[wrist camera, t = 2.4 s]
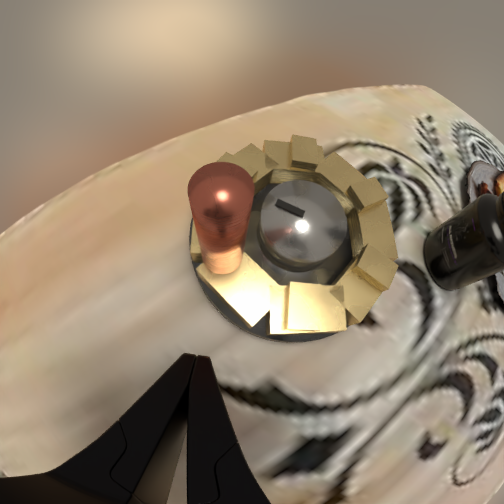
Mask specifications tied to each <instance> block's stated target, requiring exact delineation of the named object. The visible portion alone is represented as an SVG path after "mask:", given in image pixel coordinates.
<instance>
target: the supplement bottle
mask: <svg viewBox="0 0 504 504" xmlns="http://www.w3.org/2000/svg"><path fill="white" fill-rule="evenodd" d="M425 259H426V264H427V267H428V269H429V272H430V274H431V276H432V277H433V279H434V280H435V281H436V282H437V283H438V284H439V285H440V286H441V287H443V288H445V289H447V290H456V289H459V288H462V287H465V286H467V285H470V284H472V283H475V282H477V281H480V280H482V279H485V278H487V277H489V276H492V275H494V274H496V273H499V272H501V271H503V270H504V192H502V193H501V194H500V195H499V197H498V196H496V195H494V194H488V193H487V194H483V195H481V196H479V197H478V198H477V199H475V200H474V201H473V202H471V203H470V204H469V205H467V206H466V207H465V208H463V209H462V210H461V211H459V212H458V213H457V214H455V215H454V216H452V217H451V218H450V219H448V220H447V221H445V222H444V223H443V224H441V225H440V226H438V227H437V228H436V229H434V230H433V231H432V232H431V233H430V234H429V236H428V238H427V240H426V244H425Z"/></svg>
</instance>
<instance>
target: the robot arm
mask: <svg viewBox="0 0 504 504" xmlns="http://www.w3.org/2000/svg"><path fill="white" fill-rule="evenodd" d="M186 431H187V504H271V503H270V501H269V500H268V498H267V497H266V495H265V494H264V492H263V491H262V489H261V488H260V486H259V484H258V483H257V481H256V479H255V478H254V476H253V474H252V472H251V470H250V468H249V466H248V464H247V462H246V460H245V457H244V455H243V453H242V450H241V448H240V445H239V443H238V440H237V437H236V435H235V432H234V429H233V426H232V423H231V421H230V418H229V415H228V412H227V409H226V406H225V403H224V400H223V397H222V394H221V391H220V388H219V385H218V382H217V379H216V375H215V372H214V369H213V366H212V362H211V359H210V357H208V356H201V355H198V356H196V355H194V354H188V353H184V354H182V355H181V356H180V357H179V358H178V359H177V360H176V362H175V363H174V364H173V365H172V366H171V367H170V368H169V369H168V370H167V371H166V372H165V373H164V374H163V375H162V376H161V377H160V378H159V379H158V380H157V381H156V382H155V383H154V384H153V385H152V386H151V387H150V388H149V389H148V390H147V391H146V392H145V393H144V394H143V395H142V396H141V397H140V398H139V399H138V400H137V401H136V402H135V403H134V404H133V405H132V406H131V407H130V408H129V409H128V410H127V411H126V412H125V413H124V414H123V415H122V416H121V417H120V418H119V420H117V421H116V422H115V423H114V424H113V425H112V426H111V427H110V428H109V429H108V430H107V431H106V432H105V433H103V434H102V435H101V436H100V437H99V438H98V439H96V440H95V441H94V442H93V443H91V444H90V445H89V446H87V447H86V448H85V449H83V450H82V451H80V452H79V453H78V454H76V455H75V456H73V457H72V458H70V459H69V460H68V461H66V462H65V463H63V464H62V465H60V466H59V467H57V468H55V469H53V470H51V471H48V472H45V473H41V474H34V475H26V476H17V477H4V478H0V504H166V503H167V499H168V495H169V492H170V488H171V484H172V481H173V477H174V473H175V470H176V466H177V463H178V459H179V456H180V452H181V448H182V445H183V441H184V438H185V434H186Z"/></svg>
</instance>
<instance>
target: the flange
mask: <svg viewBox="0 0 504 504" xmlns="http://www.w3.org/2000/svg"><path fill="white" fill-rule="evenodd" d="M192 227H193V218H192V221H191V227H190V236H189V237H190V250H191V238H192ZM244 252H245V253H246V254H247V255H248V256H249V257H250V258H251V259H252V260H253V261H254V262H256V263H257V264H258V265H259V266H260V267H261V268H262V269H263V270H264V271H265V272H266V273H267V274H268V275H269V276H270V277H271V278H272V279H273V280H274V281H275V282H276V283H277V284H278V285H282V286H287V285H288V283H289V282H301V283H312V284H322V285H331V284H332V283H333V282H334V281H335V279H336V278H337V277H338V276H339V275H340V273H341V272H342V271H343V270H344V269H345V267H346V266H347V265H348V264H349V262H350V261H351V260H352V259H353V255H352V248H351V241H350V234H349V228H348V222H347V216H346V215H345V212H344V209H343V207H342V205H341V204H340V202H339V201H338V199H337V198H336V197H335V196H334V195H333V194H332V193H331V192H330V191H328V190H327V189H326V188H324V187H322V186H321V185H318V184H316V183H313V182H310V181H305V180H291V181H286V182H283V183H281V184H274V183H270V184H268V185H267V186H266V187H265V188H263V189H262V190H261V191H260V192H258V193H257V194H256V195H254V197H253V203H252V208H251V214H250V219H249V225H248V230H247V236H246V242H245V247H244ZM191 258H192V256H191ZM192 263H193V266H194V269H195V272H196V275H197V278H198V280H199V283H200V285H201V287H202V289H203V291H204V292H205V294H206V296H207V297H208V298H209V300H210V301H211V303H212V304H213V305H214V306H215V307H216V309H217V310H218V311H219V312H220V313H221V314H222V315H223V316H224V317H226V318H227V319H228V320H229V321H230V322H232V323H233V324H234V325H236V326H238V327H239V328H241V329H243V330H244V331H246V332H248V333H251V334H253V335H255V336H258V337H260V338H264V339H268V340H271V341H278V342H286V343H294V342H306V341H312V340H318V339H322V338H325V337H328V336H331V335H334V334H336V333H338V332H336V333H324V334H305V335H271V336H266V319H265V315H264V316H263V317H262V318H261V319H260V320H259V321H258V322H257V323H256V324H255V325H254V326H253V327H252V328H251V329H249V328H248V327H247V326H246V325H245V324H244V323H243V322H242V321H241V320H240V319H239V318H238V317H237V316H236V315H235V314H234V313H233V312H232V311H231V310H230V309H229V308H228V307H227V306H226V305H225V304H224V303H223V302H222V301H221V300H220V299H219V298H218V297H217V296H216V295H215V294H214V293H213V292H212V290H211V289H210V288H209V287H208V286H207V285H206V284H205V283H204V282H203V281H202V280H201V279H200V278H199V276H198V273H197V270H196V268H198V267H199V266H200V265H201V264H202V263H194V262H193V259H192ZM349 326H350V325H349ZM347 327H348V325H347V324H346V328H347Z"/></svg>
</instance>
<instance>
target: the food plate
mask: <svg viewBox="0 0 504 504" xmlns="http://www.w3.org/2000/svg"><path fill="white" fill-rule="evenodd" d="M466 179H467V184H469V186H468V188H467V193H468V194H469V196H470V200H469V204H470V203H471V202H473V201H474V200H475V199H477V198H478V197H479V196H481V195H483V194H487V193H488V194H494V195H496V196H498V197H499V195H500V194H501V193H502V192H504V171H499V170H498V169H497V168H496V167H495V166H493V165H490V164H489V163H486V162H483V161H480V160H479V161H474V162H473V163H472V164H471V168H470V170H469V172H468V173H467V178H466ZM467 184H466V185H467ZM466 185H465V186H466ZM503 273H504V270H503ZM495 276H496V278H495V279H496V280H497V282H498V283H497V291H498V292H499V295H500V296H501V299H502V300H503V301H504V277H503V276H502V274H501V273H500V272H499V273H496V274H495ZM498 285H499V286H498ZM503 303H504V302H503Z"/></svg>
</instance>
